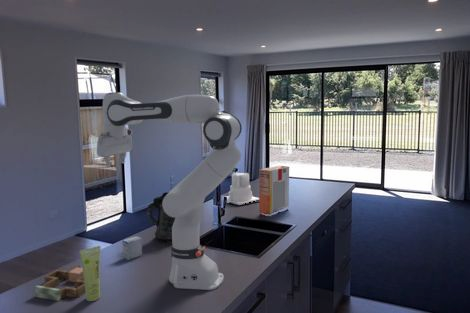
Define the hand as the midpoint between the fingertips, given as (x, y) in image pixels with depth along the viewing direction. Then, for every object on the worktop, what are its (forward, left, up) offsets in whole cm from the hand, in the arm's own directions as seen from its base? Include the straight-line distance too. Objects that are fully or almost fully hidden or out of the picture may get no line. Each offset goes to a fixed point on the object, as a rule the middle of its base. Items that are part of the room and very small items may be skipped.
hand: (115, 164), depth 163 cm
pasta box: (-46, -111, -46) cm, 129 cm away
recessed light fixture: (-15, -133, -46) cm, 142 cm away
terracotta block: (+10, +14, -46) cm, 49 cm away
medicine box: (+2, -14, -46) cm, 49 cm away
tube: (-5, +26, -46) cm, 53 cm away
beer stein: (-3, -41, -46) cm, 62 cm away
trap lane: (+10, +19, -46) cm, 51 cm away
